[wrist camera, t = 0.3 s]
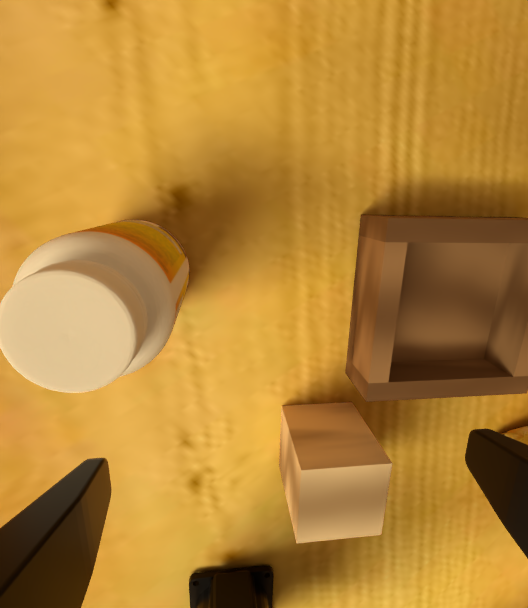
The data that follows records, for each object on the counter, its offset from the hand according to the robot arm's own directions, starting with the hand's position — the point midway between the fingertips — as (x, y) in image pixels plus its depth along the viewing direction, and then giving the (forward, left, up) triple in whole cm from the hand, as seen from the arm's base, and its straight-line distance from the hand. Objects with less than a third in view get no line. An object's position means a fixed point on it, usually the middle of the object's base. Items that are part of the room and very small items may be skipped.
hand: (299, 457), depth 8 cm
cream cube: (-10, -5, -14) cm, 17 cm away
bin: (0, -12, -14) cm, 18 cm away
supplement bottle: (+2, +6, -14) cm, 15 cm away
